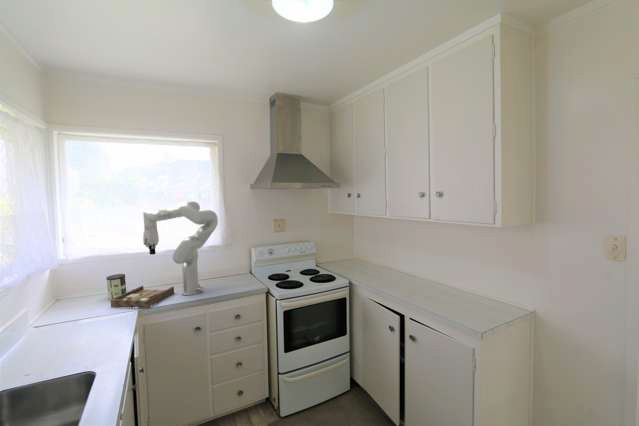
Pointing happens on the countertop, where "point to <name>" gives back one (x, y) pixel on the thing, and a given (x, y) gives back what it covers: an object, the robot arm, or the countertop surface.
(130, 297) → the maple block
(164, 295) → the wooden tray
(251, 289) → the countertop surface
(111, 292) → the coffee can
